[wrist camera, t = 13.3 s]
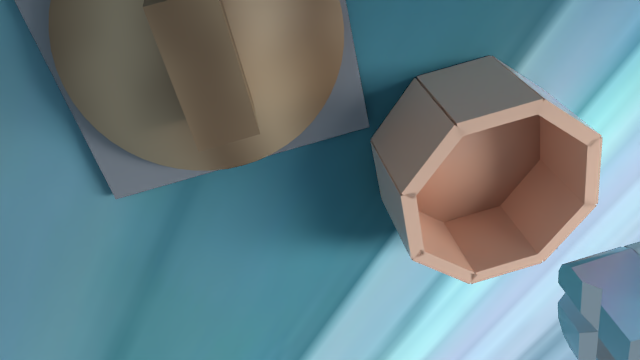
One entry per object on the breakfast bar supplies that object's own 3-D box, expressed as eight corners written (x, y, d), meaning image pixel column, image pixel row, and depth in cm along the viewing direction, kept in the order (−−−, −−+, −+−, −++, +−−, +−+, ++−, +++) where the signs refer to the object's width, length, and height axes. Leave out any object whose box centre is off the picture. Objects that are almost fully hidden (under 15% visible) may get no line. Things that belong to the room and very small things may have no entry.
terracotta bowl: (544, 39, 34) (606, 80, 29) (543, 191, 40) (594, 247, 35) (360, 91, 33) (391, 142, 28) (388, 237, 39) (417, 299, 34)
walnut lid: (307, -151, 26) (327, -144, 22) (360, 122, 34) (383, 163, 30) (-6, -69, 25) (-40, -46, 22) (122, 190, 33) (114, 240, 29)
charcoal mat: (311, -169, 26) (314, -168, 26) (366, 122, 34) (369, 127, 34) (-22, -81, 25) (-26, -79, 25) (116, 193, 34) (115, 199, 33)
